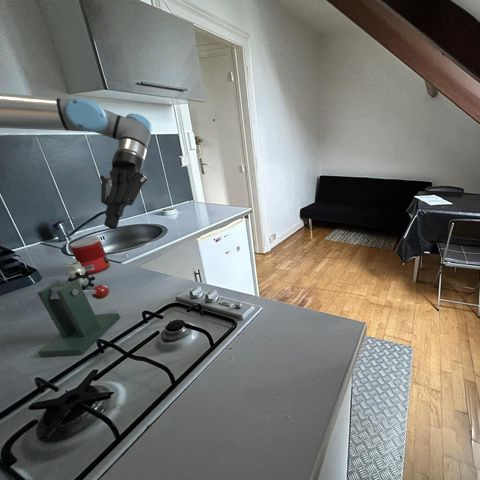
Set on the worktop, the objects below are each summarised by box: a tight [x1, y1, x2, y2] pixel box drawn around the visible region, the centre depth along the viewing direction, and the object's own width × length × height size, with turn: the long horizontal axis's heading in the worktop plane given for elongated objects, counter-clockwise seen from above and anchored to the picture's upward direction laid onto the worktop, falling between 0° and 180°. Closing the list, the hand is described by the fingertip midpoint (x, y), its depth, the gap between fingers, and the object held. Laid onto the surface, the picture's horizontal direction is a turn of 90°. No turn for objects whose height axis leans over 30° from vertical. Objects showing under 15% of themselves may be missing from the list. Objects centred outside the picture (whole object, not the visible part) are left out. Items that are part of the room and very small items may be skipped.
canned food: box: [69, 236, 111, 275], centre depth 92 cm, size 8×8×11 cm
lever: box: [50, 284, 110, 300], centre depth 62 cm, size 13×4×4 cm, turn 179°
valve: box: [65, 260, 96, 290], centre depth 83 cm, size 7×7×12 cm
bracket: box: [36, 280, 121, 358], centre depth 59 cm, size 12×9×14 cm
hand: (110, 226), depth 72 cm, fingers closed
